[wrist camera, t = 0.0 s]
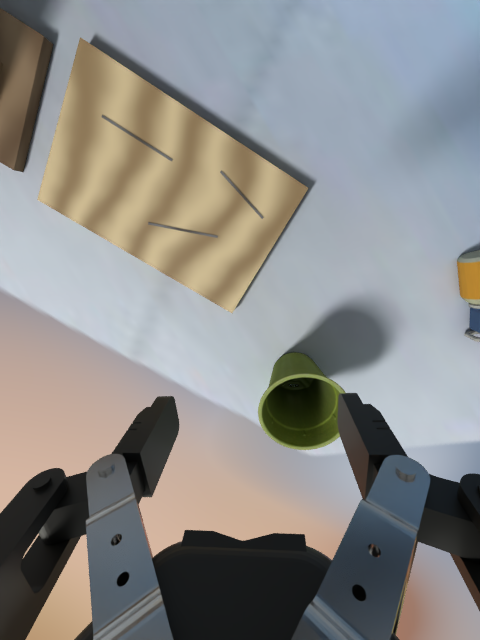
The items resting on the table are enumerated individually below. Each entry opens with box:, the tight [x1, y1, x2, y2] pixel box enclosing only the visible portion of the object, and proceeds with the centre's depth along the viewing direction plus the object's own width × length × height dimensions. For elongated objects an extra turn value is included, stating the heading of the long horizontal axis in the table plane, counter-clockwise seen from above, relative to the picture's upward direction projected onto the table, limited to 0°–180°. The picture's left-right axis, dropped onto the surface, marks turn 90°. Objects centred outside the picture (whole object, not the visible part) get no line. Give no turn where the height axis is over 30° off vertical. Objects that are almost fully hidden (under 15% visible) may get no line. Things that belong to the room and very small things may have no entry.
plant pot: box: [258, 352, 345, 450], centre depth 40 cm, size 12×12×11 cm
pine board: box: [37, 38, 308, 313], centre depth 37 cm, size 32×20×2 cm, turn 60°
